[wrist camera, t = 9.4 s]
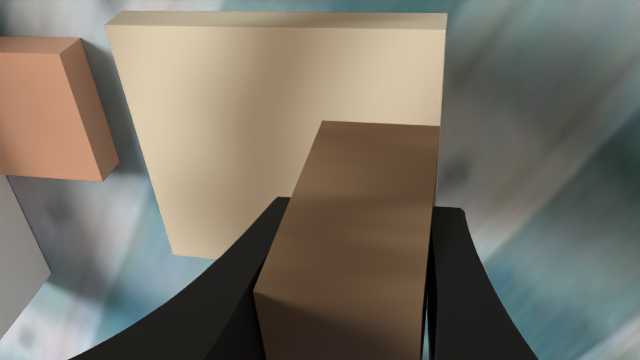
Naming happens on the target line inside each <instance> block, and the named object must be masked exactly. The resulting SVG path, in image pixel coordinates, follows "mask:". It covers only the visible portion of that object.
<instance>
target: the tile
mask: <svg viewBox="0 0 640 360" xmlns="http://www.w3.org/2000/svg"><path fill="white" fill-rule="evenodd" d="M119 162H120V161H119V158H118V155H117V152H116V149H115V146H114V142H113V139H112V136H111V133H110V130H109V127H108V123H107V120H106V117H105V114H104V111H103V108H102V104H101V101H100V98H99V95H98V92H97V89H96V85H95V82H94V79H93V76H92V73H91V70H90V66H89V63H88V60H87V57H86V54H85V51H84V47H83V44H82V41H81V38H68V37H18V36H0V175H14V176H28V177H42V178H55V179H69V180H83V181H97V182H103V181H104V180H105V179H106V178H107V176H108V175H109V174H110V173H111V171H112V170H113V169H114V168H115V167H116V165H117V164H118V163H119Z"/></svg>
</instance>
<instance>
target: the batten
mask: <svg viewBox="0 0 640 360" xmlns="http://www.w3.org/2000/svg"><path fill="white" fill-rule="evenodd" d="M50 275H51V272H50V269H49V267H48V265H47V263H46V261H45V259H44V257H43V254H42V252H41V250H40V248H39V246H38V244H37V242H36V240H35V237H34V235H33V233H32V231H31V229H30V227H29V225H28V222H27V220H26V218H25V216H24V214H23V212H22V210H21V208H20V205H19V203H18V201H17V199H16V197H15V195H14V193H13V190H12V188H11V186H10V184H9V182H8V180H7V178H6V175H0V340H1V338H2V337H3V336H4V335H5V333H6V332H7V331H8V329H9V328H10V327H11V325H12V324H13V323H14V322H15V320H16V319H17V318H18V316H19V315H20V314H21V313H22V311H23V310H24V309H25V307H26V306H27V305H28V303H29V302H30V301H31V300H32V298H33V297H34V296H35V294H36V293H37V292H38V291H39V289H40V288H41V287H42V285H43V284H44V283H45V282H46V280H47V279H48V278H49V276H50Z"/></svg>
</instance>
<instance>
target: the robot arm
mask: <svg viewBox="0 0 640 360" xmlns="http://www.w3.org/2000/svg"><path fill="white" fill-rule="evenodd" d="M290 199H291V197H279V196H278V197H277V198H275V199H274V200H273V201H272V202H271V204H270V205H269V206H268V207H267V208H266V209H265V210H264V211H263V212H262V214H261V215H260V216H259V217H258V218H257V219H256V220H255V221H254V222H253V224H252V225H251V226H250V227H249V228H248V229H247V230H246V231H245V232H244V233H243V234H242V235H241V236H240V237H239V238H238V239H237V240H236V241H235V242H234V243H233V244H232V245H231V246H230V247H229V249H228V250H227V251H226V252H225V253H224V254H222V255H221V256H220V257H219V258H218V259H217V260H216V261H215V262H214V263H213V264H212V265H211V266H210V267H208V268H207V269H206V270H205V271H204V272H203V273H202V274H201V275H200V276H199V277H197V278H196V279H195V280H194V281H193V282H191V283H190V284H189V285H188V286H187V287H185V288H184V289H183V290H182V291H180V292H179V293H178V294H177V295H175V296H174V297H173V298H171V299H170V300H169V301H167V302H166V303H165V304H163V305H162V306H160V307H159V308H157V309H156V310H154V311H153V312H151V313H150V314H148V315H147V316H145V317H144V318H142V319H141V320H139V321H138V322H136V323H135V324H133V325H132V326H130V327H128V328H127V329H125V330H123V331H121V332H120V333H118V334H116V335H115V336H113V337H111V338H109V339H108V340H106V341H104V342H102V343H100V344H98V345H97V346H95V347H93V348H91V349H89V350H87V351H85V352H83V353H81V354H79V355H77V356H75V357H73V358H71V359H68V360H266V355H265V350H264V345H263V340H262V335H261V330H260V325H259V320H258V315H257V310H256V305H255V300H254V295H253V290H254V287H255V285H256V282H257V280H258V277H259V275H260V273H261V270H262V268H263V265H264V263H265V260H266V258H267V255H268V253H269V250H270V248H271V245H272V243H273V240H274V238H275V236H276V233H277V231H278V228H279V226H280V223H281V221H282V218H283V216H284V213H285V211H286V208H287V206H288V203H289V201H290ZM427 320H428V343H429V360H539V359H538V358H537V357H536V355H535V354H534V353H533V351H532V350H531V348H530V347H529V346H528V344H527V343H526V341H525V340H524V338H523V337H522V335H521V334H520V332H519V331H518V329H517V328H516V326H515V325H514V323H513V322H512V320H511V318H510V317H509V315H508V313H507V312H506V310H505V308H504V307H503V305H502V303H501V301H500V299H499V298H498V296H497V294H496V292H495V290H494V288H493V286H492V284H491V282H490V280H489V278H488V276H487V274H486V272H485V270H484V267H483V265H482V263H481V261H480V259H479V256H478V254H477V252H476V249H475V246H474V244H473V241H472V238H471V235H470V232H469V229H468V225H467V221H466V217H465V212H464V211H463V210H462V209H461V208H454V207H438V206H433V212H432V227H431V245H430V264H429V283H428V302H427Z"/></svg>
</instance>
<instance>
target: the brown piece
mask: <svg viewBox="0 0 640 360" xmlns="http://www.w3.org/2000/svg"><path fill="white" fill-rule="evenodd" d="M104 27H105V30H106V34H107V37H108V40H109V43H110V47H111V50H112V53H113V57H114V60H115V63H116V67H117V70H118V73H119V76H120V80H121V83H122V86H123V90H124V93H125V96H126V100H127V103H128V106H129V109H130V113H131V116H132V119H133V123H134V126H135V129H136V133H137V136H138V139H139V143H140V146H141V149H142V152H143V156H144V159H145V162H146V166H147V169H148V172H149V176H150V179H151V182H152V185H153V189H154V192H155V195H156V199H157V202H158V205H159V209H160V212H161V215H162V219H163V222H164V225H165V228H166V232H167V235H168V238H169V242H170V245H171V248H172V252H173V255H182V256H192V257H201V258H211V259H218V258H219V257H220V256H221V255H222V254H224V253H225V252H226V251H227V250H228V249H229V247H230V246H231V245H232V244H233V243H234V242H235V241H236V240H237V239H238V238H239V237H240V236H241V235H242V234H243V233H244V232H245V231H246V230H247V229H248V228H249V227H250V226H251V225H252V224H253V222H254V221H255V220H256V219H257V218H258V217H259V216H260V215H261V214H262V212H263V211H264V210H265V209H266V208H267V207H268V206H269V205H270V204H271V202H272V201H273V200H274V199H275V198H277V197H278V196H279V197H291V199H290V201H289V203H288V206H287V208H286V211H285V213H284V216H283V218H282V221H281V223H280V226H279V228H278V231H277V233H276V236H275V238H274V240H273V243H272V245H271V248H270V250H269V253H268V255H267V258H266V260H265V263H264V265H263V268H262V270H261V273H260V275H259V277H258V280H257V282H256V285H255V287H254V290H253V295H254V300H255V305H256V310H257V315H258V320H259V325H260V330H261V335H262V340H263V345H264V350H265V355H266V360H422V355H423V344H424V333H425V322H426V311H427V299H428V283H429V264H430V245H431V227H432V212H433V206H436V200H437V183H438V166H439V149H440V132H441V115H442V97H443V80H444V63H445V46H446V29H447V13H343V12H212V11H122V12H120V13H119V14H118V15H117V16H115V17H114V18H113V19H111V20H110V21H109V22H108V23H106V24H105V25H104Z"/></svg>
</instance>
